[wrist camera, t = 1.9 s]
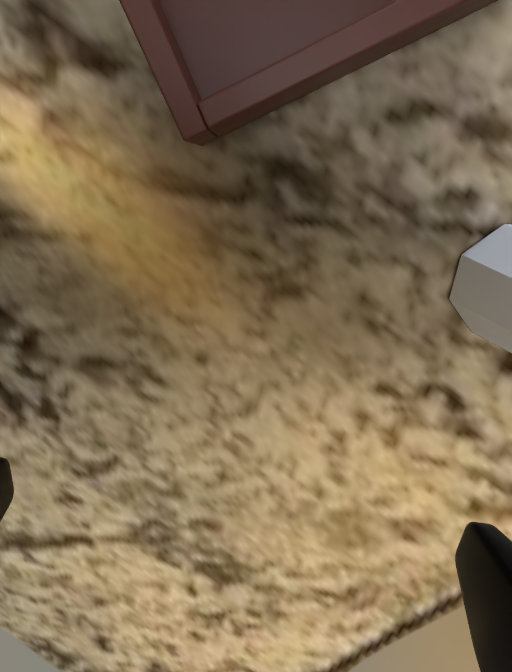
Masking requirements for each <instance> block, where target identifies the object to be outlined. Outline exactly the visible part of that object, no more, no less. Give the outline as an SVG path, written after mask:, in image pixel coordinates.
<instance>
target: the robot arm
mask: <svg viewBox="0 0 512 672" xmlns="http://www.w3.org/2000/svg"><path fill="white" fill-rule="evenodd" d="M13 494H14V487H13V481H12V475H11V470H10V464H9V462H8V460H7V459H5V458H2V457H0V521H1V520H2V518H3V516H4V514H5V512H6V511H7V509H8V507H9V505H10V503H11V501H12V498H13ZM455 562H456V568H457V573H458V578H459V582H460V587H461V592H462V596H463V601H464V605H465V610H466V615H467V619H468V624H469V629H470V633H471V638H472V642H473V646H474V650H475V654H476V657H477V661H478V664H479V668H480V671H481V672H512V541H511V540H509V539H508V538H507V537H506V536H505V535H504V534H503V533H502V532H501V531H499V530H498V529H497V528H496V527H495V526H493V525H491V524H486V523H478V522H470V523H468V524H467V526H466V528H465V530H464V533H463V535H462V538H461V540H460V543H459V545H458V548H457V551H456V555H455Z"/></svg>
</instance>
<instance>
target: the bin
mask: <svg viewBox="0 0 512 672" xmlns="http://www.w3.org/2000/svg"><path fill="white" fill-rule="evenodd" d="M119 1H120V3H121V5H122V7H123V10H124V12H125V14H126V16H127V18H128V20H129V23H130V25H131V27H132V29H133V31H134V33H135V36H136V38H137V40H138V42H139V44H140V47H141V49H142V51H143V53H144V55H145V57H146V60H147V62H148V64H149V66H150V68H151V70H152V73H153V75H154V77H155V79H156V81H157V84H158V86H159V88H160V90H161V92H162V94H163V97H164V99H165V101H166V103H167V105H168V107H169V110H170V112H171V114H172V116H173V118H174V121H175V123H176V125H177V127H178V129H179V131H180V134H181V136H182V138H183V140H184V141H187V142H190V143H193V144H197V145H200V146H203V145H205V144H207V143H209V142H211V141H213V140H215V139H217V138H219V137H221V136H223V135H225V134H227V133H229V132H231V131H233V130H235V129H238V128H240V127H242V126H244V125H246V124H248V123H250V122H252V121H254V120H256V119H258V118H260V117H262V116H264V115H266V114H268V113H270V112H272V111H274V110H276V109H278V108H280V107H282V106H284V105H286V104H288V103H290V102H292V101H294V100H296V99H298V98H300V97H303V96H305V95H307V94H309V93H311V92H313V91H315V90H317V89H319V88H321V87H323V86H325V85H327V84H329V83H331V82H333V81H335V80H337V79H339V78H341V77H343V76H345V75H347V74H349V73H351V72H353V71H355V70H357V69H359V68H361V67H363V66H365V65H368V64H370V63H372V62H374V61H376V60H378V59H380V58H382V57H384V56H386V55H388V54H390V53H392V52H394V51H396V50H398V49H400V48H402V47H404V46H406V45H408V44H410V43H412V42H414V41H416V40H418V39H420V38H422V37H424V36H426V35H428V34H431V33H433V32H435V31H437V30H439V29H441V28H443V27H445V26H447V25H449V24H451V23H453V22H455V21H457V20H459V19H461V18H463V17H465V16H467V15H469V14H471V13H473V12H475V11H477V10H479V9H481V8H483V7H485V6H487V5H489V4H491V3H493V2H496V1H498V0H119Z"/></svg>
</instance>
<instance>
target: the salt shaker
mask: <svg viewBox="0 0 512 672" xmlns="http://www.w3.org/2000/svg"><path fill="white" fill-rule="evenodd" d="M449 300H450V301H451V303H452V304H453V306H454V307H455V309H456V310H457V312H458V313H459V315H460V316H461V318H462V319H463V321H464V322H465V324H466V325H467V326H468V328H469V329H470V331H471V332H473V333H475V334H477V335H479V336H481V337H482V338H484V339H486V340H488V341H490V342H492V343H494V344H496V345H497V346H499V347H501V348H503V349H505V350H507V351H509V352H510V353H512V225H510V224H503V225H502V226H501V227H499V228H498V229H497V230H495V231H494V232H492V233H491V234H490V235H488V236H487V237H485V238H484V239H483V240H481V241H480V242H478V243H477V244H476V245H474V246H473V247H471V248H470V249H469V250H467V251H466V252H464V253H463V254H462V255H461V258H460V262H459V265H458V269H457V273H456V276H455V280H454V283H453V287H452V290H451V294H450V297H449Z"/></svg>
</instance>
